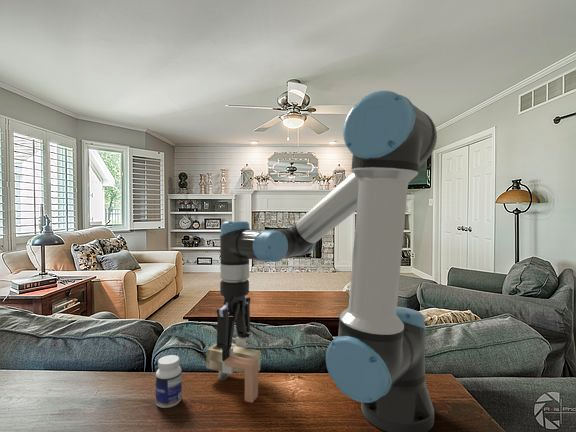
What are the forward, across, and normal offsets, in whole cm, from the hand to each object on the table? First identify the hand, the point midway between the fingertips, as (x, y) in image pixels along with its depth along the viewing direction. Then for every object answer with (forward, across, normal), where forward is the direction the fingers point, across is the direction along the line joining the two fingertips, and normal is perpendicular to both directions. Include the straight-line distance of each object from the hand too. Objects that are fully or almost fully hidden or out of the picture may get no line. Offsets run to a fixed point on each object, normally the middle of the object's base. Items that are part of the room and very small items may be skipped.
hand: (234, 366), depth 86 cm
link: (0, 0, 0) cm, 0 cm away
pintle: (+4, 0, -3) cm, 5 cm away
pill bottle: (+4, +14, -9) cm, 17 cm away
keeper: (+4, +6, +5) cm, 9 cm away
